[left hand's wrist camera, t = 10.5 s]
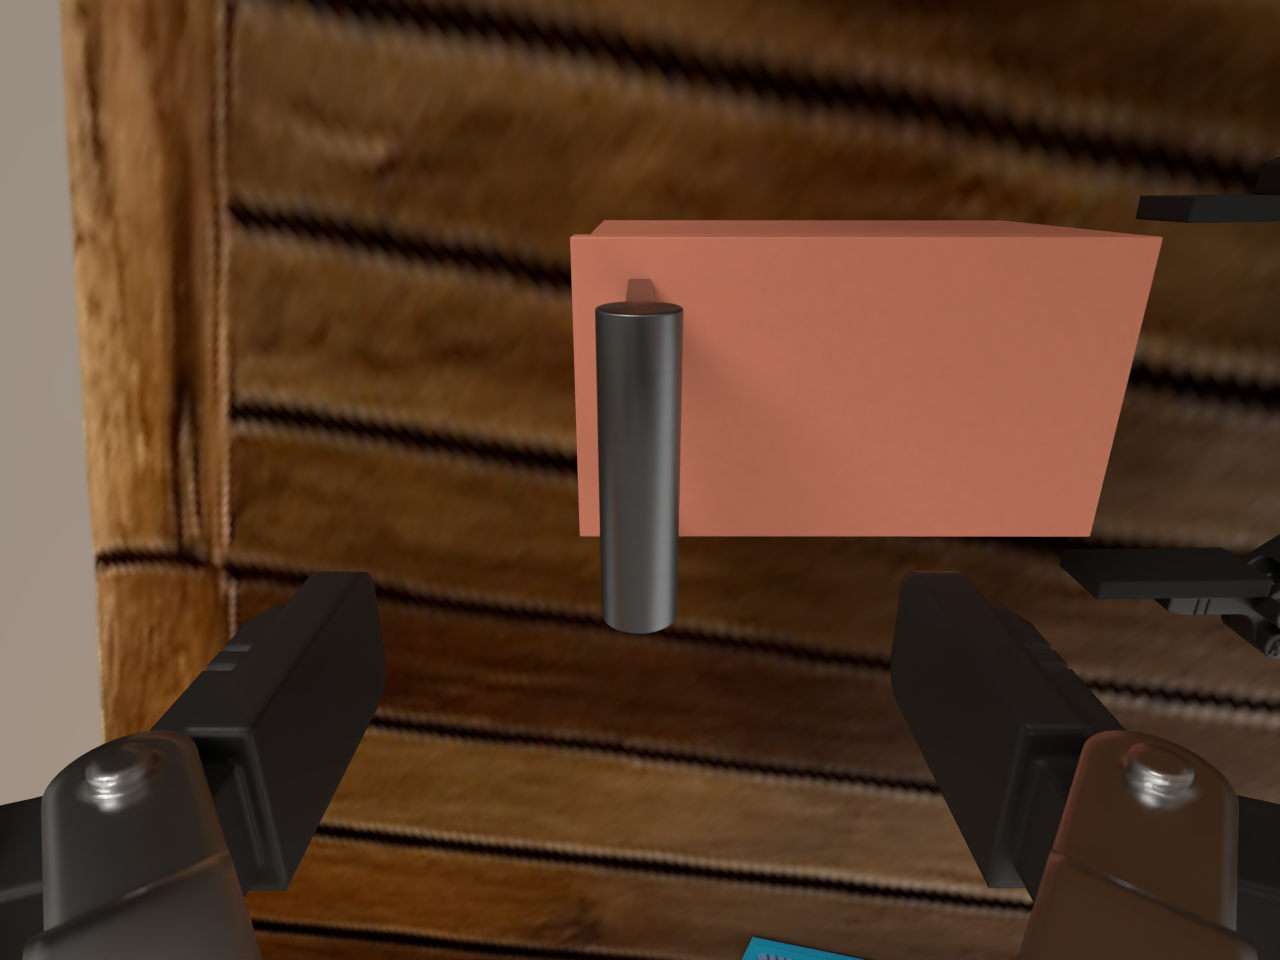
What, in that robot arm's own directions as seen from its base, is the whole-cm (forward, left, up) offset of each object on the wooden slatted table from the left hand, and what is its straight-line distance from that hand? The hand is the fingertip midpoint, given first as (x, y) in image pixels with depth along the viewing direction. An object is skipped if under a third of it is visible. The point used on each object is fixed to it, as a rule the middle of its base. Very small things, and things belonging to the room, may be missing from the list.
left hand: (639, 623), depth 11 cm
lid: (-2, +6, -14) cm, 16 cm away
